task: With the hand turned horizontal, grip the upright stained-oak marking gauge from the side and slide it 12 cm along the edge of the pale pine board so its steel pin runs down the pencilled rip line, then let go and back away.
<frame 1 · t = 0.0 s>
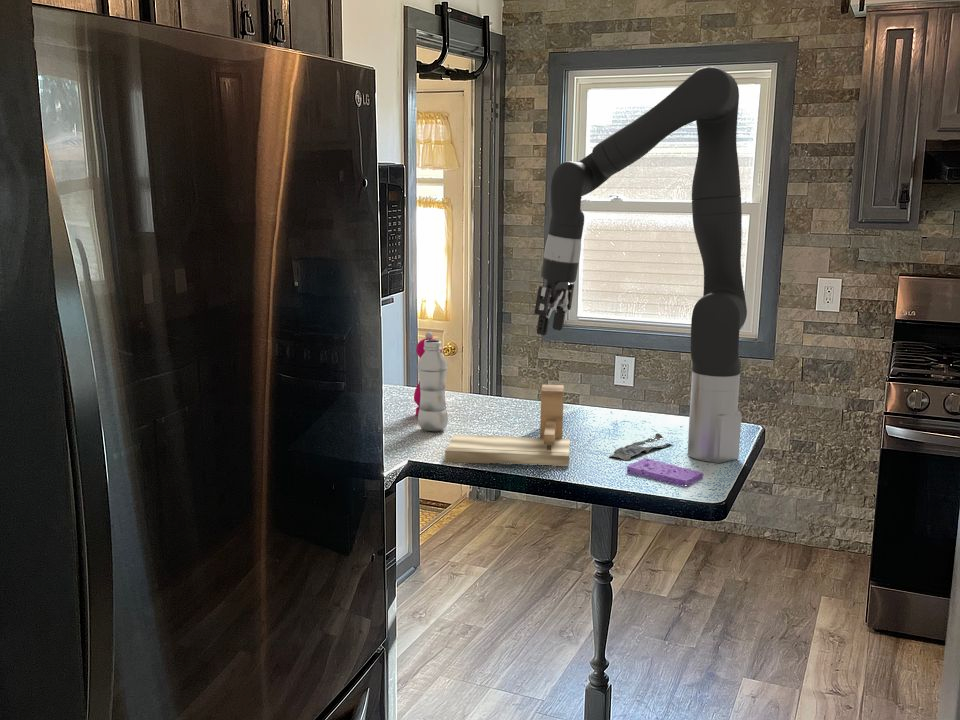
hand: (549, 332, 188), 22 cm above the countertop, tool pointing down, fingers open, 8 cm apart
sponges: (664, 478, 164), on the countertop
plastic bottle: (432, 431, 193), on the countertop
marking gauge: (551, 443, 184), on the countertop
driftwood: (643, 452, 181), on the countertop
pine board: (509, 455, 175), on the countertop
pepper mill: (429, 416, 206), on the countertop
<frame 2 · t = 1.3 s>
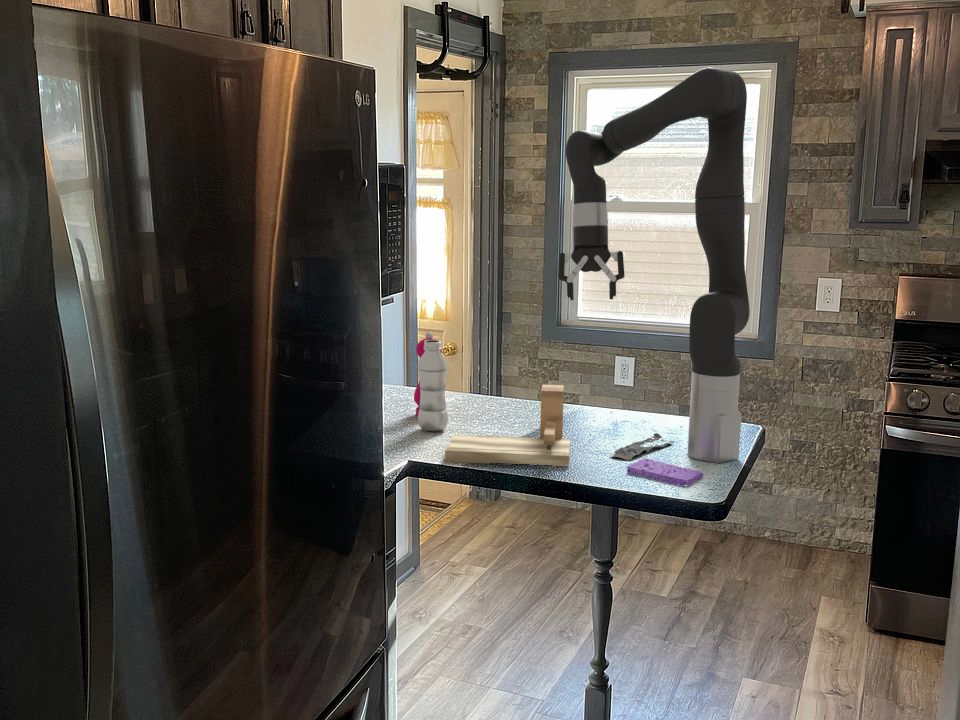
hand: (591, 299, 191), 29 cm above the countertop, tool pointing down, fingers open, 8 cm apart
nothing on the countertop moved.
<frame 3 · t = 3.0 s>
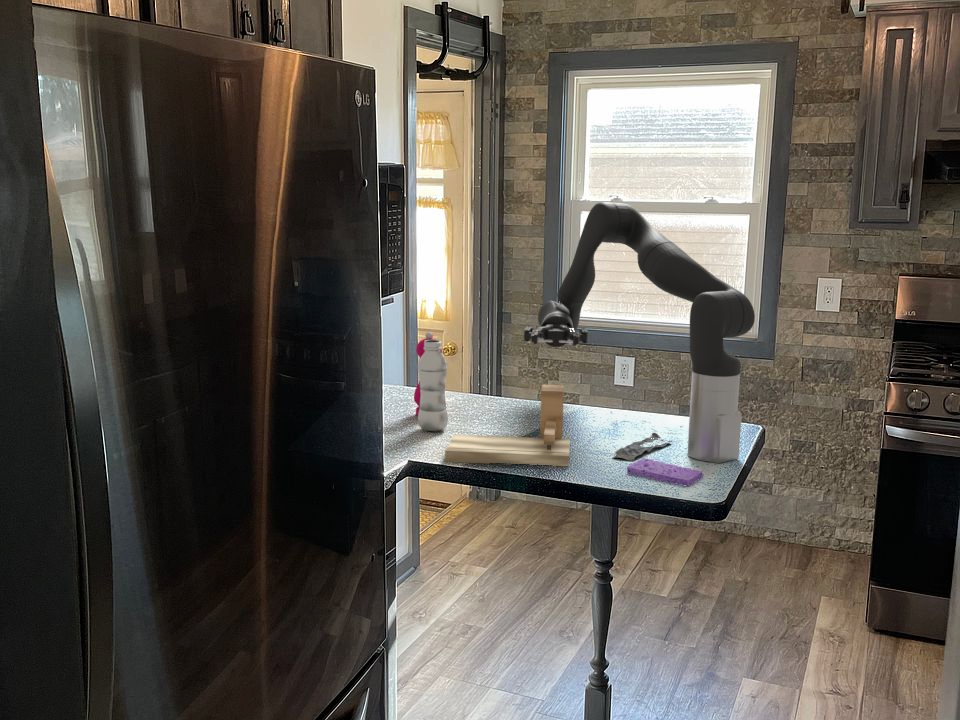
hand: (555, 340, 191), 20 cm above the countertop, tool horizontal, fingers open, 8 cm apart
nothing on the countertop moved.
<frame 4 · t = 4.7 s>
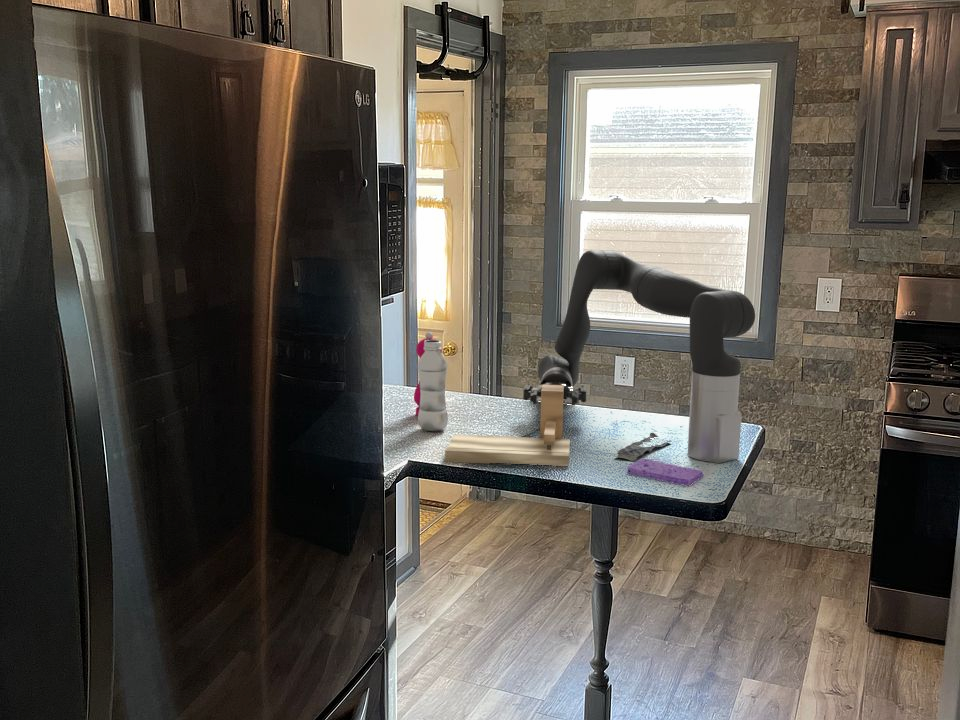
hand: (554, 400, 193), 7 cm above the countertop, tool horizontal, fingers open, 8 cm apart
nothing on the countertop moved.
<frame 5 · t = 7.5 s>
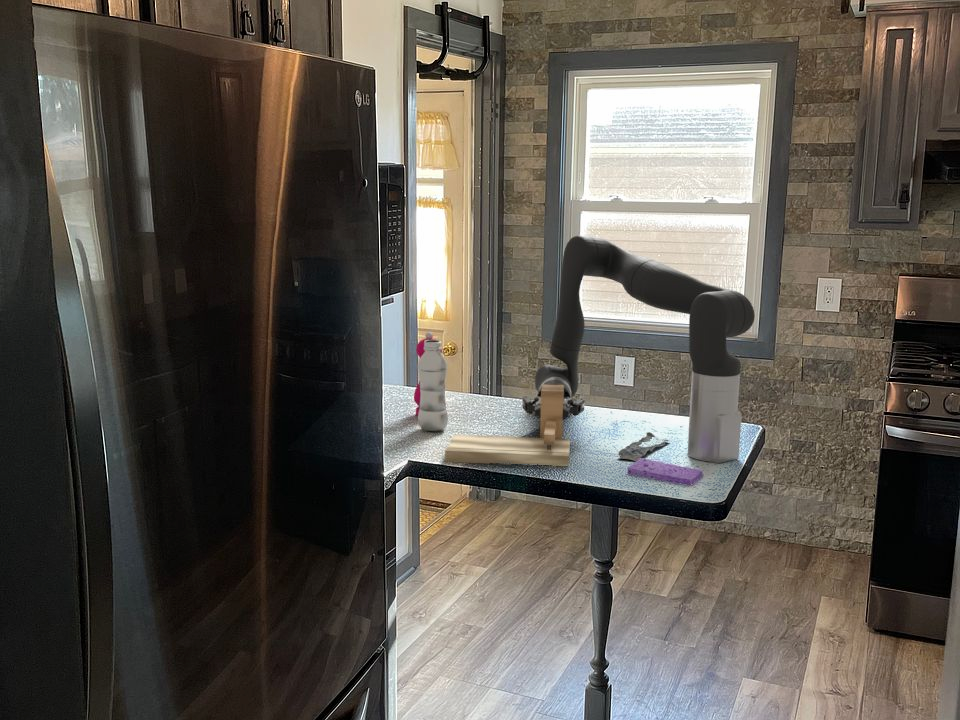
hand: (551, 414, 180), 7 cm above the countertop, tool horizontal, fingers closed on marking gauge, 4 cm apart
marking gauge: (551, 443, 184), on the countertop, touching gripper
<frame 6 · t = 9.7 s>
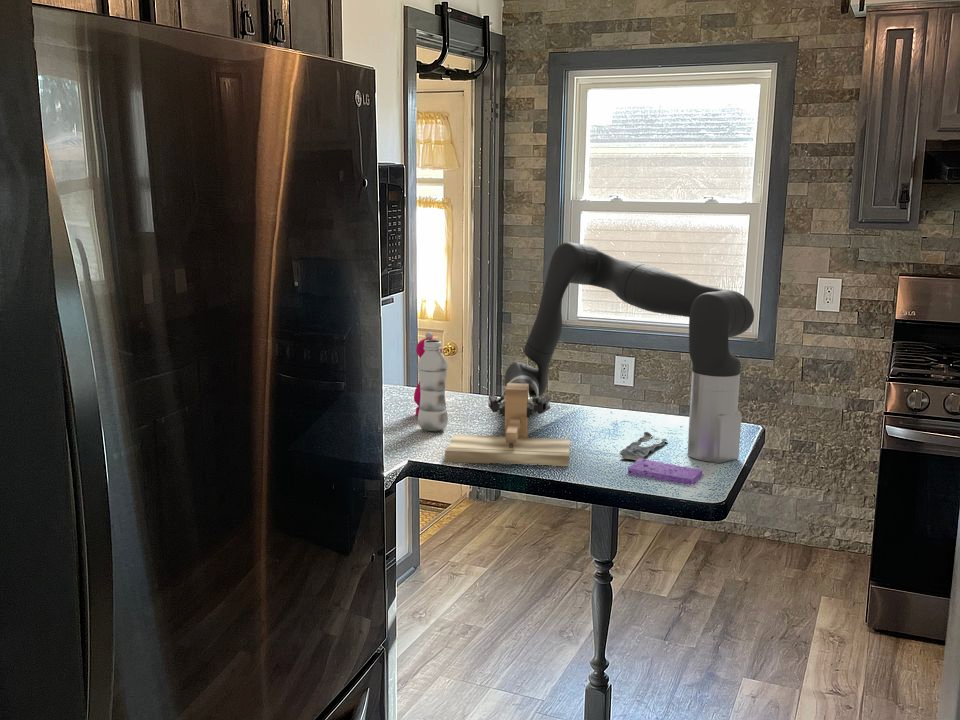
hand: (515, 412, 181), 7 cm above the countertop, tool horizontal, fingers closed on marking gauge, 4 cm apart
marking gauge: (516, 441, 185), on the countertop, touching gripper
when the fingers open (7 cm above the countertop, at t = 12.0 s): marking gauge stays where it is, on the countertop.
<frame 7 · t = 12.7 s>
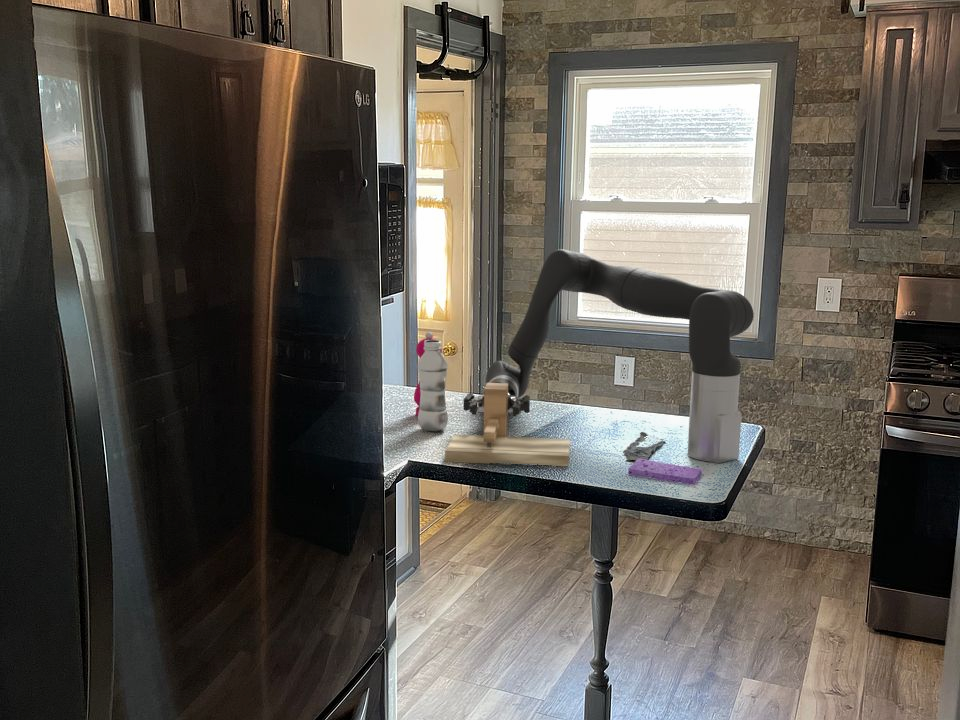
hand: (494, 411, 182), 7 cm above the countertop, tool horizontal, fingers open, 8 cm apart
marking gauge: (495, 441, 185), on the countertop
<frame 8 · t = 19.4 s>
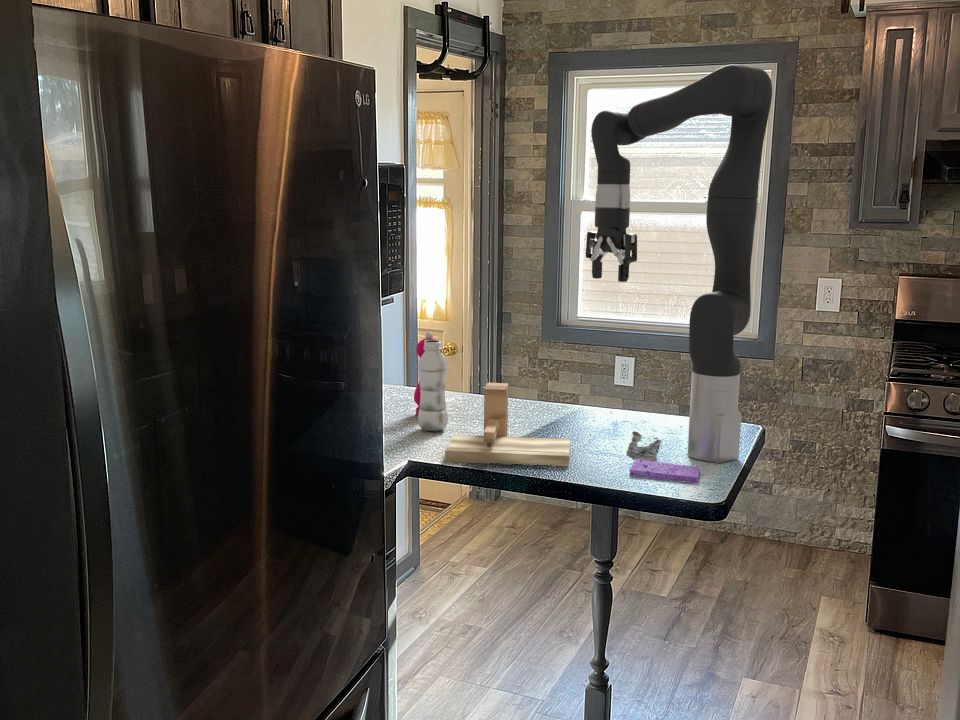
hand: (609, 280, 193), 33 cm above the countertop, tool pointing down, fingers open, 8 cm apart
at the end: marking gauge moved 11.8 cm from its start; marking gauge inside the target area (0.3 cm from its centre), on the countertop; marking gauge tilted 0° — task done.
